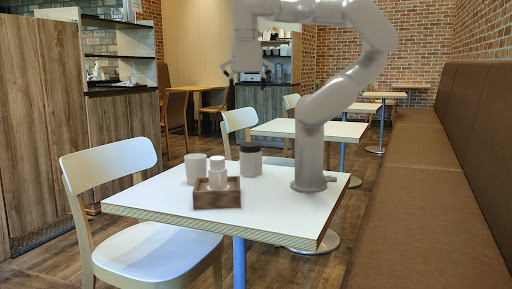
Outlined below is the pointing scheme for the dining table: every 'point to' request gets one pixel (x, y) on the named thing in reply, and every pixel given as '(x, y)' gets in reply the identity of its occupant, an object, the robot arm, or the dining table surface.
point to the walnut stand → (216, 195)
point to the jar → (250, 159)
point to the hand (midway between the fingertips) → (247, 90)
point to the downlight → (217, 174)
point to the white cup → (195, 167)
